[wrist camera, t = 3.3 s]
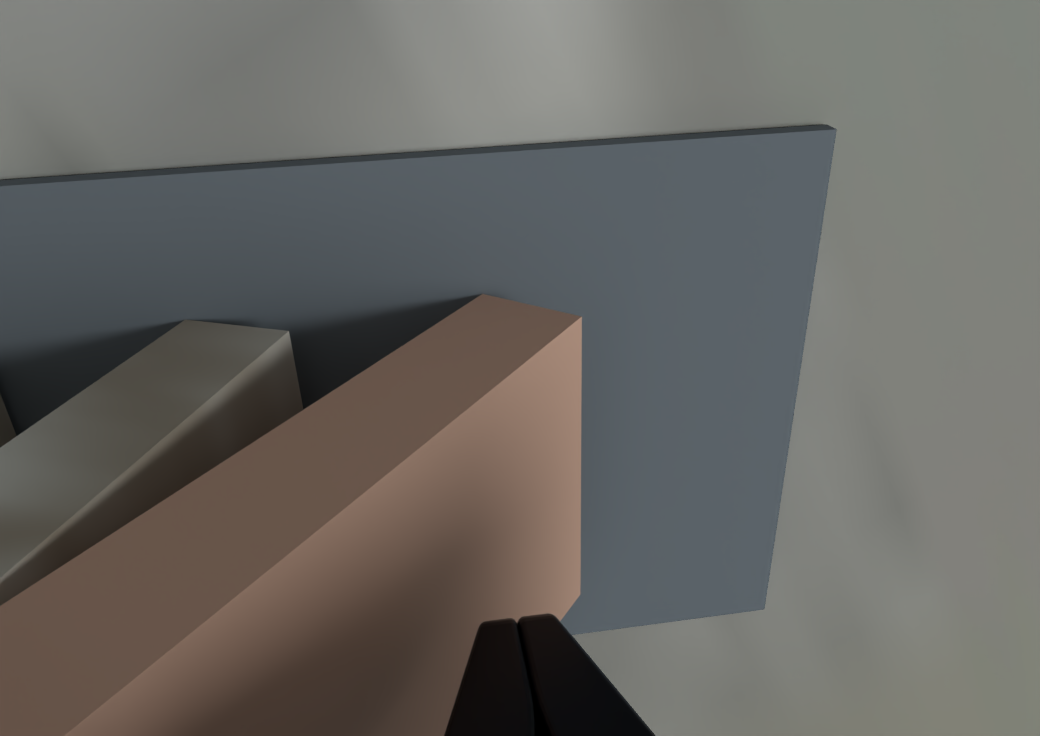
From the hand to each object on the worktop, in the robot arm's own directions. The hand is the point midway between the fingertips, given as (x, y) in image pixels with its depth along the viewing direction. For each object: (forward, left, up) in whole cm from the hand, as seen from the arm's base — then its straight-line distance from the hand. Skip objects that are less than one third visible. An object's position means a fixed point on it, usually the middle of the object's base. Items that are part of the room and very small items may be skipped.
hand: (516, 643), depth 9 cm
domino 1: (0, -1, -4) cm, 4 cm away
